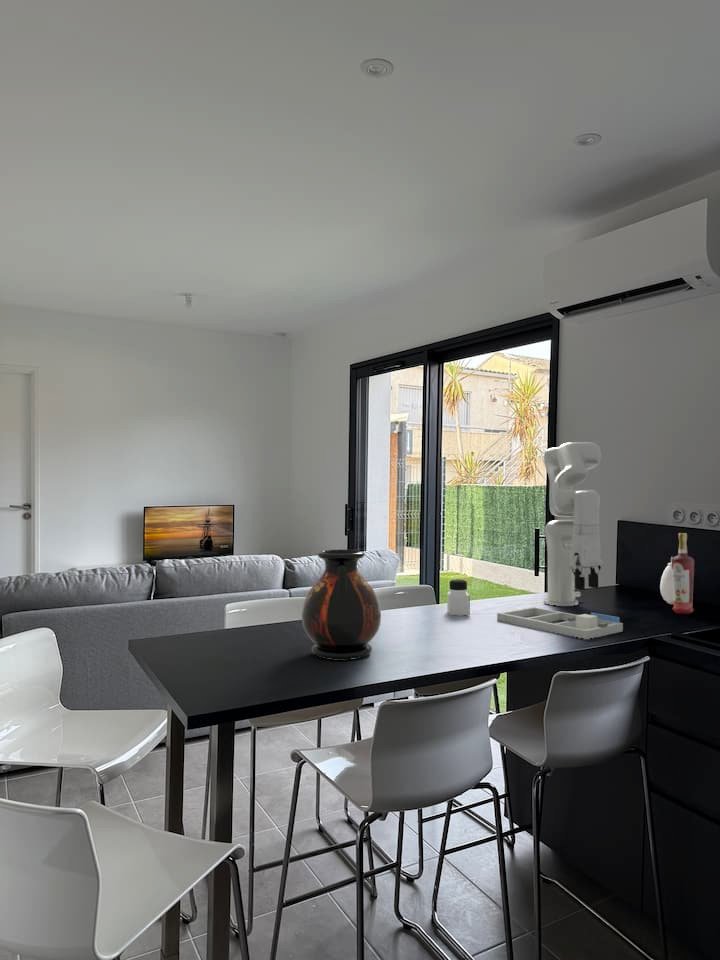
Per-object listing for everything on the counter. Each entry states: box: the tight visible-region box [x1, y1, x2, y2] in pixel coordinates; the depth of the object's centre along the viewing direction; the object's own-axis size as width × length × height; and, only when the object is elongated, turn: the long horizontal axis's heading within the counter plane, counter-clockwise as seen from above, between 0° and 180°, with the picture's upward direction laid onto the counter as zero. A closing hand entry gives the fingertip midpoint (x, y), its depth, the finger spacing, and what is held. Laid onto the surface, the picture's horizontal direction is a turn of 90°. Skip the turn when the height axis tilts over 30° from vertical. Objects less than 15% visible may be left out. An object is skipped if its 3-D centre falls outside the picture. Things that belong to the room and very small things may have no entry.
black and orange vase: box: [301, 549, 382, 659], centre depth 192 cm, size 22×22×28 cm
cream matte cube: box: [576, 613, 597, 630], centre depth 218 cm, size 4×4×5 cm
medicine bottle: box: [446, 578, 471, 616], centre depth 247 cm, size 7×7×12 cm
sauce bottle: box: [659, 555, 674, 605], centre depth 264 cm, size 8×8×18 cm
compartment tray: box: [496, 606, 624, 640], centre depth 227 cm, size 19×35×4 cm, turn 37°
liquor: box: [670, 532, 695, 616], centre depth 246 cm, size 7×7×28 cm
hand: (586, 587), depth 218 cm, fingers open, 6 cm apart
